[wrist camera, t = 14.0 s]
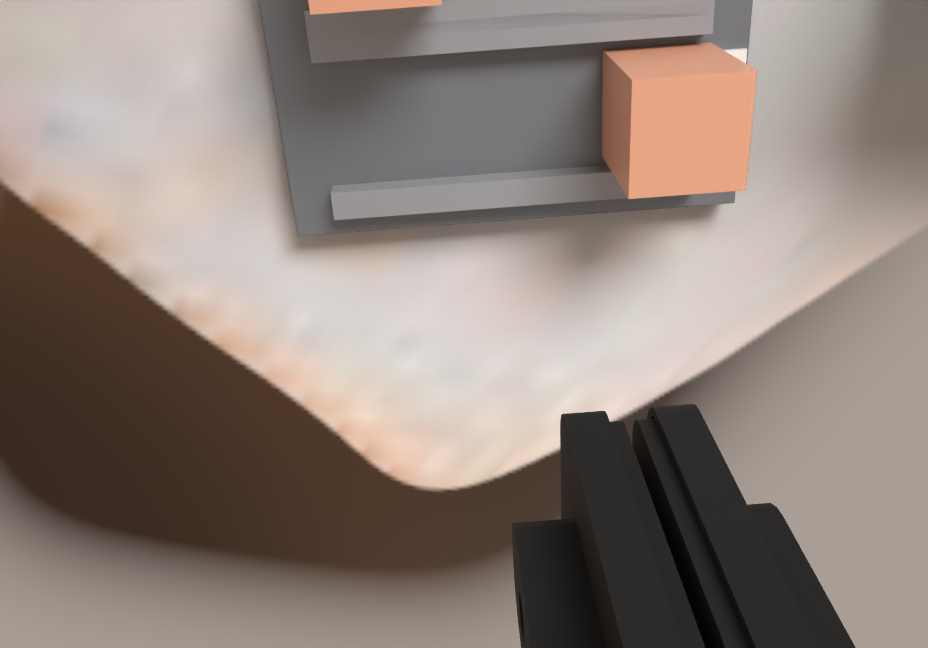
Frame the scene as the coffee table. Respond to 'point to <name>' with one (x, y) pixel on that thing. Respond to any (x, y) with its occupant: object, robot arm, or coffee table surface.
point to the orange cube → (677, 119)
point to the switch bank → (465, 106)
